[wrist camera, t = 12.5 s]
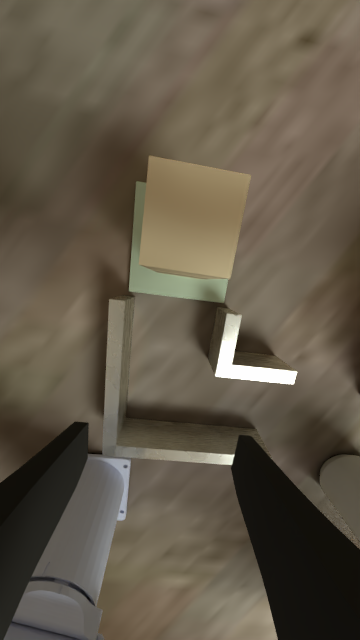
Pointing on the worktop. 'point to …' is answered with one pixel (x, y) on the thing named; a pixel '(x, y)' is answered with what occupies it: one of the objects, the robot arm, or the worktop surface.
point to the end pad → (166, 283)
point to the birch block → (191, 219)
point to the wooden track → (175, 436)
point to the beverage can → (343, 488)
